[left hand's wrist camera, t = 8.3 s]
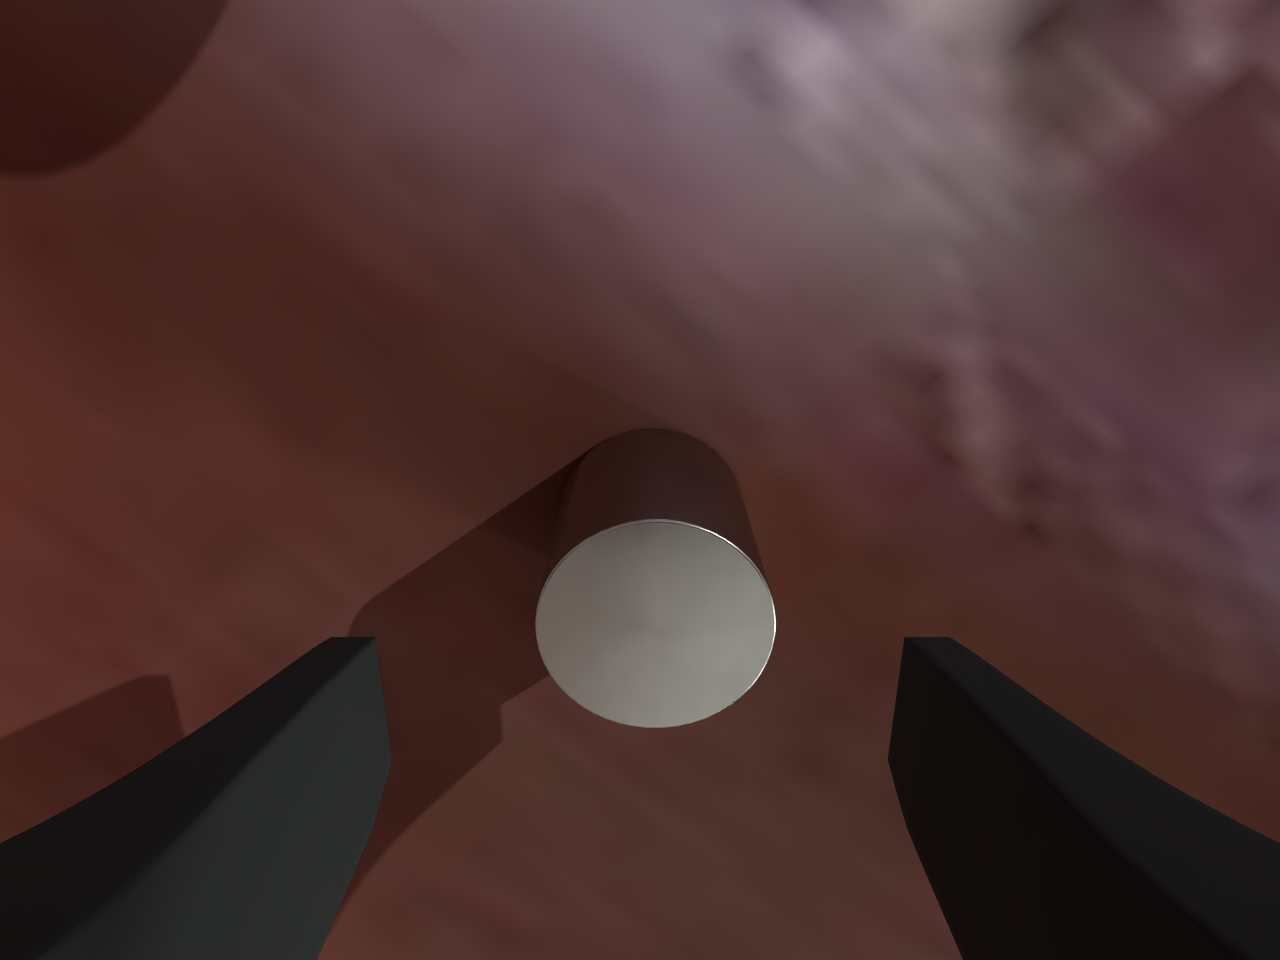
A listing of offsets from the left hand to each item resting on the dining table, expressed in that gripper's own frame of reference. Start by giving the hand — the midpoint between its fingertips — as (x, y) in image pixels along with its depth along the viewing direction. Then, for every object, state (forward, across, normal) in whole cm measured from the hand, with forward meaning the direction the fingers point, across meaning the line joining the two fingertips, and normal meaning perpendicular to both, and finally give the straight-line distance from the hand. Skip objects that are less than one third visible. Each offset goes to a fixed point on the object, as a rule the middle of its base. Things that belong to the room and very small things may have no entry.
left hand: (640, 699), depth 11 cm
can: (+7, 0, 0) cm, 7 cm away
